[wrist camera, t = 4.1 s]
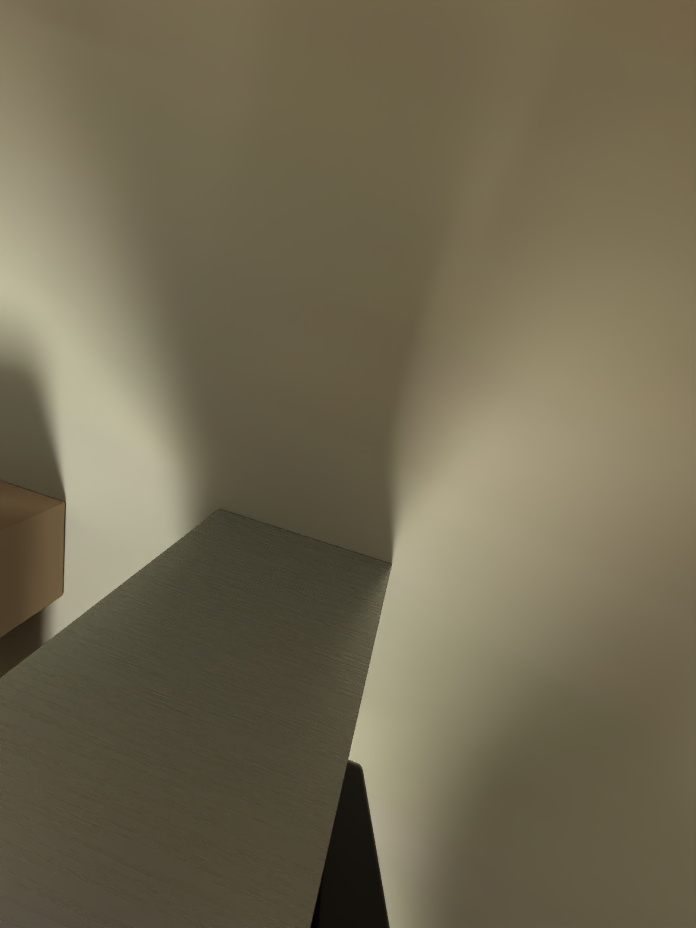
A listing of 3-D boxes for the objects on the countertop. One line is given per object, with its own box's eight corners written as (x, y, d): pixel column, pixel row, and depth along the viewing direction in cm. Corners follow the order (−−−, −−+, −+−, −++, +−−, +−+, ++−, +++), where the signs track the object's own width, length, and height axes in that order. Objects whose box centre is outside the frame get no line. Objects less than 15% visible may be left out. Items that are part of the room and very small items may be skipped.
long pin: (392, 564, 10) (141, 1675, 2) (348, 704, 12) (93, 1692, 3) (219, 508, 11) (-603, 1142, 2) (197, 649, 12) (-363, 1364, 4)
